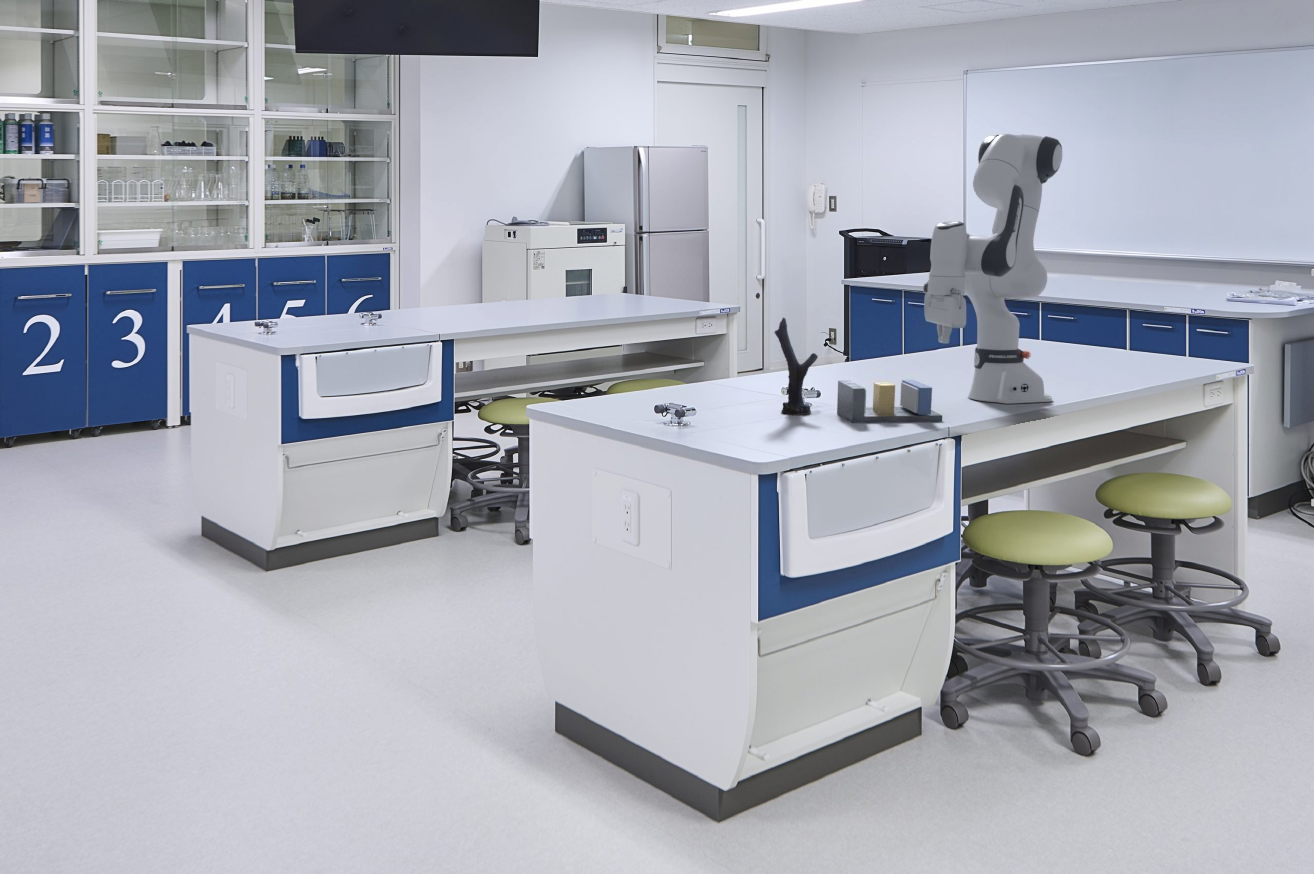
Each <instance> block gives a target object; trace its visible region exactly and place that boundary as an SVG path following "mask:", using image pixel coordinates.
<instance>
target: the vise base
mask: <svg viewBox="0 0 1314 874" xmlns="http://www.w3.org/2000/svg"><path fill="white" fill-rule="evenodd" d="M836 403H837V405H836V407H837V408H836V414H837V415H839V416H841V417H843V418H844V419H846V421H847V420H848V422H851V424H852V423H853V424H855V423H857V422H866V423H912V422H914V423H919V422H921V423H922V422H923V423H925V422H927V423H929V422H943V414H940V413H938V412H936V411H934V410H933V409H931V414H923V415H919V414H917V413H914V412H912V411H910V410H908V409H906V408H904V407H902V406H894V413H877V412H876V411H874V410H873V406H867V389H866V387H863V386H861V385H860V384H857V383H855V382H853V381H851V380H849V379H848V380H838V381H837V402H836ZM857 424H858V423H857Z"/></svg>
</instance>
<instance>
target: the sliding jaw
mask: <svg viewBox="0 0 1314 874" xmlns="http://www.w3.org/2000/svg"><path fill="white" fill-rule="evenodd" d="M901 380H902V381H901V382H900V402H899V403H900V404H899V407H904V408H906V409H908V410H910V411H912V412H914V413H917V414H919V415H923V414H931V410H932V401H933V400H932V399H933V397H932V396H933V387H931V386H929V385H926V384H925V383H922V382H920V381H917V380H915V379H901Z"/></svg>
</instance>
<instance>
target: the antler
mask: <svg viewBox="0 0 1314 874" xmlns="http://www.w3.org/2000/svg"><path fill="white" fill-rule="evenodd" d="M774 335H775V336H776V337H777V339H778V342H779V344H780V348H781V351H782V353H783V355H784V358H785V361H786V362H787V371H788V383H787V389H786V392H787V394H788V396H787V399H788V401H786V402H785V401H784V402H782V409H781V411H780V413H782V414H787V415H790V416H801V415H803V416H804V415H809V414H811V413H812V410H811V406H810V405H809V404H807V403H806V404H805V403H804V400H803V386H804V384H803V383H804V379H805V377H806V376H807V374H808V371H809V369H810V367H812V366H813V364H814V363H815V362H816V361H817V359H818V357H819V355H818V354H816V353H811V354H810V355H809V357H807V359H806V360H805V361H804V362H802V363H799V361H798V359H797V357H796V354H795V351H794V348H793V346H792V343H791V341H790V339H791V338H790V337H789V332H788V324H787V320H786V317H782V319H781V320H780V322H779V325H778V329H777V330H775V331H774Z"/></svg>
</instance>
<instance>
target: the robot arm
mask: <svg viewBox="0 0 1314 874" xmlns="http://www.w3.org/2000/svg"><path fill="white" fill-rule="evenodd" d="M977 157H978V159H977V160H978V161H977V162H978V165H977V168H976V170H975V173H974V175H973V180H972V181H973V182H972V186H973V187H972V188H973V190H974V192H975V195H976V196H977V197H978V199H980V200H981V201H982V202H983V203H984V204H986V205H987V206H989V207H991V208H994V209H996V213H995V217H994V219H993V224H992V228H991V230H992V231H991V232H992V235H971V234H970V233H967V227H966V223H965V222H961V221H955V220H954V221H953V220H952V221H943V222H939V223H938V224H936V225H935V226H934V228H933V232H932V236H931V243H930V250H929V251H930V252H929V253H930V255H929V256H930V257H929V260H930V264H931V265H930V271H929V272H928V279H927V281H926V283H924V284H923V287H922V291H923V293H924V303H923V305H924V306H923V307H924V309H923V311H924V318H925V319H924V320H925V321H926V322H929V323H931V324H932V323H933V324H936V330H937V335H938V339H937V340H938V343H941V344H949V343H950V336H951V334H952V332H953V329H964V328H965V327H966V325H967V301H966V298H965V297H964V295H966V296H967V297H968V298H969V300H970V302H971V304H972V305H973V309H974V311H975V314H976V315H975V316H976V322H977V323H976V324H977V331H976V332H977V334H976V335H977V336H976V337H977V339H976V347H975V349H974V354H973V355H974V357H973V364H974V365H973V367H974V371H973V372H974V373H973V377H972V378H973V379H972V381H971V382H972V383H971V387H970V391H969V392H968V395H967V397H968V399H971V400H976V401H980V402H991V403H1000V404H1026V403H1027V404H1028V403H1048V402H1053V396H1051V395H1049V394H1047V393H1045V384H1044V380H1043V378H1042V377H1041V376H1040V375H1039V373H1037V372H1036V371H1034V370H1033V368H1031V367H1030V366H1029V365H1028V364H1026V363H1025V362H1024V359H1025V360H1029V359H1030V358H1031V356H1032V353H1031V352H1030V351H1029V350H1028V351H1027V350H1024V351H1023V350H1022V349H1020V348H1019V341H1020V340H1019V339H1020V338H1019V337H1020V325H1021V324H1020V321H1019V319H1018V317H1017V316H1016V315H1015V314H1013V313H1012V312H1011V311H1010V310H1009V309H1008V308H1007V306H1006V302H1005V299H1010V300H1014V299H1015V300H1025V299H1026V300H1027V299H1032V298H1036V297H1039V296H1040V295H1041V294H1042V293H1043V292H1044V290H1045V289H1046V287H1047V283H1048V274H1047V269H1046V268H1045V266H1044V265H1043V263H1042V262H1041V261H1040V260H1039V259H1038V257H1037V255H1036V251H1035V247H1034V238H1035V232H1036V226H1037V223H1038V222H1037V221H1038V217H1039V215H1040V214H1039V212H1040V208H1041V203H1042V196H1043V195H1042V193H1043V184H1046V183H1047V182H1048V180H1049V179H1051V178H1053V177H1054V175H1056V173H1057V172H1058V170H1059V169H1060V167H1061V164H1062V160H1063V147H1062V144H1061V142H1060V141H1059V139H1056V138H1055V137H1051V136H1046V135H1045V136H1039V135H1033V134H1011V133H1004V134H994V135H989V136H987V137H985V139H984V140H983V141H981V143H980V146H979V150H978V156H977Z"/></svg>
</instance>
